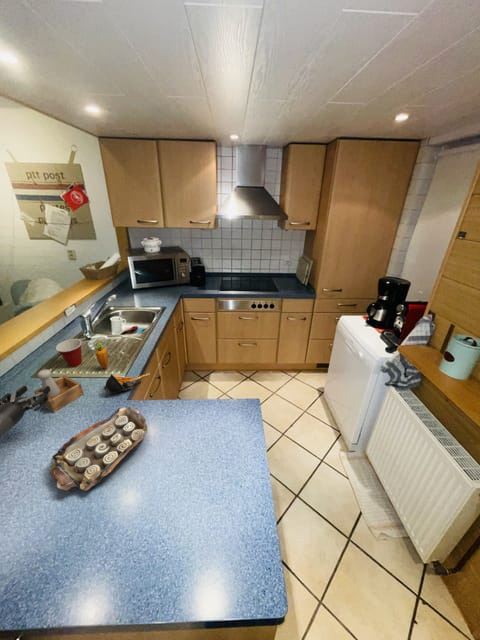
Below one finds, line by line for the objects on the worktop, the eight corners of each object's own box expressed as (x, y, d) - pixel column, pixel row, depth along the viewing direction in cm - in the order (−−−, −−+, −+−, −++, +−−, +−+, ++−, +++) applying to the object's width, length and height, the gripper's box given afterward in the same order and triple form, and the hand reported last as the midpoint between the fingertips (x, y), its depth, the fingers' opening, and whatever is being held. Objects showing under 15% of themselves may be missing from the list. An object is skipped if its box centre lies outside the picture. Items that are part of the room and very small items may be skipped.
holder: (54, 412, 99) (49, 401, 96) (38, 401, 104) (33, 391, 101) (84, 394, 108) (80, 384, 106) (67, 385, 113) (64, 375, 111)
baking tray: (81, 512, 67) (76, 500, 65) (38, 474, 76) (32, 462, 74) (162, 432, 91) (160, 421, 89) (122, 409, 100) (119, 399, 98)
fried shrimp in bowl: (97, 381, 109) (133, 354, 118) (114, 399, 112) (147, 372, 121) (101, 385, 101) (138, 356, 110) (118, 404, 105) (153, 375, 114)
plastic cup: (58, 372, 122) (51, 351, 117) (67, 359, 131) (61, 339, 126) (83, 369, 124) (76, 348, 119) (90, 357, 134) (84, 337, 128)
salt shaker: (64, 391, 108) (55, 366, 103) (58, 400, 103) (48, 375, 97) (49, 393, 107) (39, 368, 101) (42, 402, 102) (31, 377, 96)
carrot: (108, 372, 122) (102, 345, 116) (98, 372, 122) (90, 346, 116) (112, 366, 127) (106, 340, 120) (102, 366, 126) (95, 340, 120)
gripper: (18, 413, 77) (53, 379, 92) (-29, 413, 77) (14, 379, 91) (27, 430, 80) (59, 395, 95) (-18, 430, 80) (21, 395, 95)
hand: (37, 387), depth 93 cm, fingers open, 8 cm apart
